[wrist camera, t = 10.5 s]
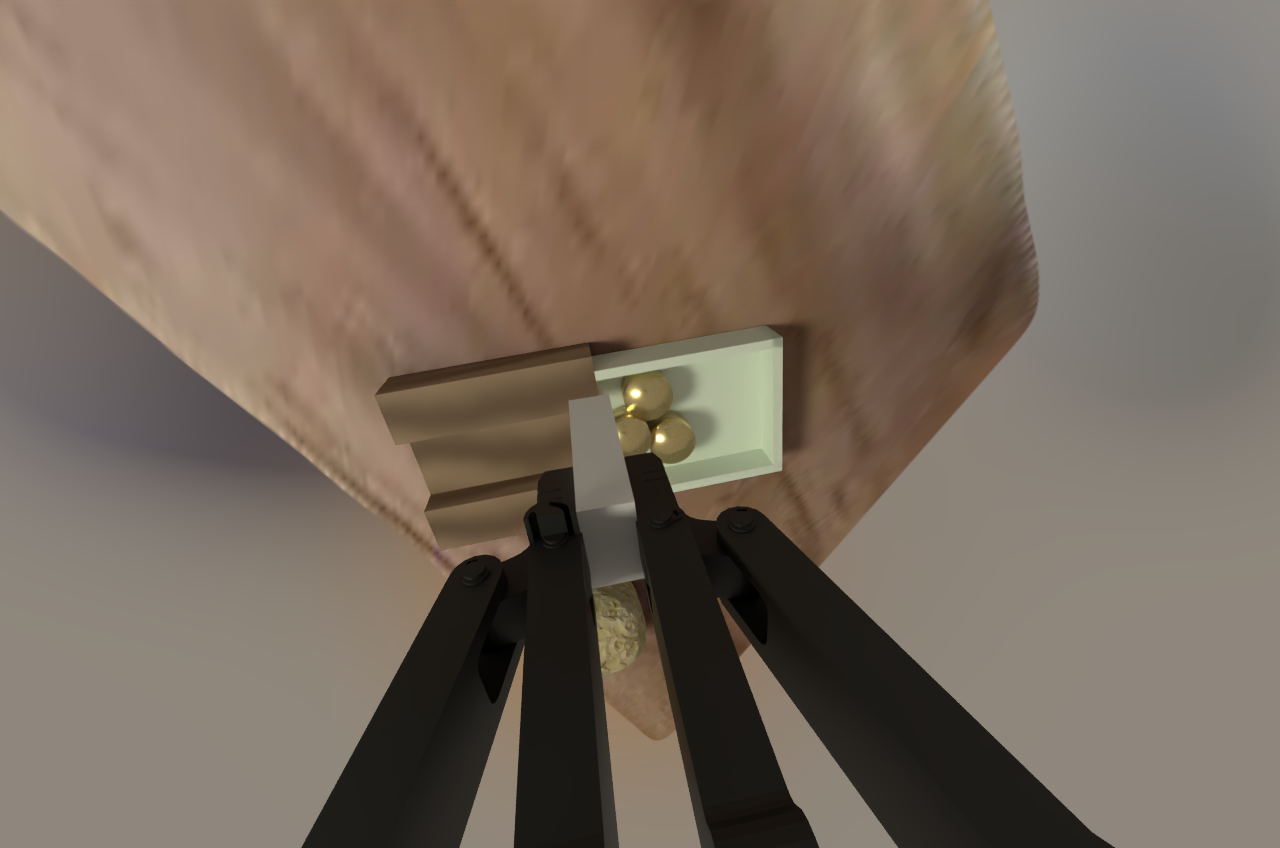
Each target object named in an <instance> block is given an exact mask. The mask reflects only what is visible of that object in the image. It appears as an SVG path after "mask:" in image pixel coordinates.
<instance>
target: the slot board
mask: <svg viewBox="0 0 1280 848" xmlns="http://www.w3.org/2000/svg"><path fill="white" fill-rule="evenodd" d="M374 396H375V398H376V400H377V403H378V405H379V407H380V410H381V412H382V414H383V417H384V419H385V421H386V424H387V426H388V428H389V431H390V433H391V435H392V438H393V440H394V443H395V445H400V444H405V443H410V445H411V447H412V450H413V452H414V455H415V457H416V460H417V462H418V464H419V467H420V469H421V472H422V474H423V477H424V479H425V481H426V484H427V486H428V489H429V491H430V494H431V496H430V498H429V501H428V504H427V506H426V509H425V511H424V513H425V515H426V517H427V520H428V522H429V524H430V527H431V529H432V531H433V534H434V536H435V538H436V541H437V543H438V546H439V548H440V550H446V549H451V548H456V547H461V546H466V545H471V544H476V543H480V542H485V541H490V540H495V539H500V538H505V537H510V536H515V535H520V534H525V533H527V532H526V528H525V525H524V521H523V518H524V516H525V513H526V512H527V511H528V510H529V509H530V508H531V507H532V506H533V505H535V504H537V494H538V493H537V488H538V481H539V479H540V478H541V476H542V475H543V473H544V472H545V471H550V470H556V469H562V468H568V467H573V459H572V444H571V429H570V415H569V400H575V399H581V398H588V397H594V396H599V394H598V389H597V384H596V378H595V373H594V368H593V363H592V357H591V352H590V347H589V343H583V344H578V345H572V346H566V347H561V348H555V349H549V350H544V351H538V352H532V353H527V354H521V355H515V356H510V357H504V358H498V359H493V360H487V361H481V362H476V363H470V364H464V365H459V366H453V367H447V368H442V369H436V370H430V371H425V372H419V373H413V374H408V375H402V376H396V377H390V378H388V379H387V381H386V382H385V383H384V384H383V386H382V387H381V388H380V389H379V390H378V392H377V393H376V394H375V395H374Z"/></svg>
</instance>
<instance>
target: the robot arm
mask: <svg viewBox="0 0 1280 848" xmlns="http://www.w3.org/2000/svg"><path fill="white" fill-rule="evenodd" d="M569 415H570V429H571V444H572V459H573V467H568V468H562V469H556V470H550V471H545V472H544V473H543V475H542V476H541V478H540V479H539V481H538V488H537V493H538V494H537V504H535V505H533V506H532V507H531V508H530V509H529V510H528V511H527V512H526V513H525V516H524V518H523V521H524V525H525V528H526V532H527V535H528V539H529V542H530V546H529V547H528V548H527V549H526V550H524V551H523V552H522V553H520V554H518V555H516V556H515V557H513V558H510V559H508V560H506V561H503V562H501V561H500V560H499V559H498V558H496V557H495V556H491V555H479V556H474V557H472V558H469V559H467V560H465V561H463V562H462V563H461V564H459V565H458V566H457V567H456V568H455V569H454V570H453V571H452V573H451V574H450V576H449V577H448V579H447V581H446V583H445V585H444V587H443V589H442V590H441V592H440V594H439V596H438V598H437V600H436V601H435V603H434V605H433V607H432V609H431V611H430V613H429V614H428V616H427V618H426V620H425V622H424V623H423V625H422V627H421V629H420V631H419V633H418V635H417V636H416V638H415V640H414V642H413V644H412V645H411V647H410V649H409V651H408V653H407V655H406V656H405V658H404V660H403V662H402V664H401V666H400V668H399V669H398V671H397V673H396V675H395V677H394V679H393V680H392V682H391V684H390V686H389V688H388V690H387V692H386V693H385V695H384V697H383V699H382V701H381V702H380V704H379V706H378V708H377V710H376V712H375V713H374V715H373V717H372V719H371V721H370V723H369V724H368V726H367V728H366V730H365V732H364V734H363V735H362V737H361V739H360V741H359V743H358V745H357V747H356V748H355V750H354V752H353V754H352V756H351V757H350V759H349V761H348V763H347V765H346V767H345V769H344V770H343V772H342V774H341V776H340V778H339V780H338V781H337V784H336V785H335V787H334V789H333V791H332V792H331V794H330V796H329V798H328V800H327V802H326V804H325V805H324V807H323V809H322V811H321V813H320V814H319V816H318V818H317V820H316V822H315V824H314V825H313V828H312V829H311V831H310V833H309V835H308V837H307V838H306V840H305V842H304V844H303V846H302V848H459V847H460V843H461V840H462V837H463V834H464V831H465V828H466V825H467V822H468V818H469V815H470V812H471V809H472V806H473V803H474V800H475V797H476V794H477V791H478V787H479V784H480V781H481V778H482V775H483V772H484V769H485V766H486V762H487V759H488V756H489V753H490V750H491V746H492V744H493V740H494V738H495V734H496V731H497V728H498V725H499V722H500V719H501V716H502V712H503V709H504V706H505V703H506V700H507V697H508V694H509V691H510V687H511V684H512V681H513V678H514V675H515V672H516V669H517V665H518V663H519V660H520V656H521V653H522V650H523V647H524V644H525V649H524V664H523V684H522V703H521V722H520V740H519V741H520V742H519V759H518V777H517V797H516V815H515V834H514V848H619V842H618V832H617V822H616V812H615V803H614V792H613V782H612V772H611V762H610V752H609V742H608V732H607V721H606V712H605V701H604V691H603V681H602V671H601V661H600V651H599V641H598V631H597V621H596V611H595V602H594V598H593V593H592V588H597V587H603V586H608V585H613V584H618V583H623V582H628V581H633V580H639V579H644V578H645V583H646V591H647V598H648V605H649V612H651V615H652V620H653V624H654V629H655V634H656V638H657V643H658V648H659V652H660V657H661V662H662V666H663V671H664V676H665V680H666V685H667V690H668V694H669V699H670V704H671V708H672V713H673V718H674V722H675V727H676V732H677V736H678V741H679V746H680V750H681V755H682V759H683V764H684V769H685V773H686V778H687V783H688V787H689V792H690V797H691V802H692V806H693V811H694V816H695V820H696V825H697V829H698V834H699V839H700V844H701V848H819V846H818V843H817V841H816V838H815V836H814V833H813V831H812V829H811V826H810V824H809V822H808V820H807V818H806V816H805V815H804V813H803V811H802V809H800V808H799V807H798V806H797V805H796V804H795V803H794V802H793V800H792V798H791V796H790V794H789V791H788V789H787V786H786V783H785V781H784V778H783V775H782V773H781V770H780V767H779V765H778V762H777V760H776V756H775V754H774V751H773V748H772V746H771V743H770V740H769V738H768V735H767V732H766V730H765V727H764V724H763V722H762V719H761V716H760V713H759V711H758V708H757V705H756V702H755V700H754V697H753V694H752V692H751V689H750V687H749V684H748V681H747V678H746V676H745V673H744V670H743V668H742V665H741V662H740V659H739V657H738V654H737V651H736V649H735V646H734V643H733V640H732V638H731V635H730V632H729V630H728V627H727V624H726V622H725V619H724V616H723V613H722V611H721V608H720V605H719V603H718V600H717V598H720V600H721V603H722V604H723V606H724V607H725V608H726V610H727V611H728V612H729V614H730V615H731V617H732V618H733V619H734V621H735V622H736V624H737V625H738V626H739V628H740V629H741V630H742V632H743V633H744V635H745V636H746V637H747V639H748V640H749V642H750V643H751V644H752V646H753V647H754V648H755V650H756V651H757V653H758V654H759V655H760V657H761V658H762V659H763V661H764V662H765V664H766V665H767V666H768V668H769V669H770V671H771V672H772V673H773V675H774V676H775V678H776V679H777V680H778V682H779V683H780V684H781V686H782V687H783V688H784V690H785V691H786V693H787V694H788V695H789V697H790V698H791V700H792V701H793V702H794V704H795V705H796V707H797V708H798V709H799V711H800V712H801V713H802V715H803V716H804V717H805V719H806V720H807V722H808V723H809V725H810V726H811V727H812V729H813V730H814V731H815V733H816V734H817V736H818V737H819V738H820V740H821V741H822V743H823V744H824V745H825V747H826V748H827V749H828V751H829V752H830V754H831V755H832V756H833V758H834V759H835V761H836V762H837V763H838V765H839V766H840V768H841V769H842V770H843V772H844V773H845V774H846V776H847V777H848V779H849V780H850V781H851V783H852V784H853V786H854V787H855V788H856V790H857V791H858V792H859V794H860V795H861V797H862V798H863V799H864V801H865V802H866V804H867V805H868V806H869V808H870V809H871V810H872V812H873V813H874V815H875V816H876V817H877V819H878V820H879V821H880V823H881V824H882V826H883V827H884V828H885V830H886V831H887V833H888V834H889V835H890V837H891V838H892V839H893V841H894V842H895V844H896V845H897V846H898V848H1115V847H1113V846H1112V845H1110V844H1109V843H1107V842H1106V841H1104V840H1103V839H1101V838H1100V837H1098V836H1096V835H1095V834H1094V833H1092V832H1091V831H1090V830H1089V829H1088V828H1087V827H1086V826H1085V825H1084V824H1083V823H1082V822H1081V821H1080V820H1079V819H1078V818H1077V817H1076V816H1075V815H1074V814H1073V813H1072V812H1071V811H1069V810H1068V809H1067V808H1066V807H1065V806H1064V805H1063V804H1062V803H1061V802H1060V801H1059V800H1058V799H1057V798H1056V797H1055V796H1054V795H1053V794H1052V793H1051V792H1050V791H1049V790H1048V789H1046V787H1045V786H1044V785H1043V784H1042V783H1040V782H1039V780H1038V779H1036V778H1035V777H1034V776H1033V775H1032V774H1031V773H1030V772H1029V771H1028V770H1027V769H1026V768H1025V767H1024V766H1023V765H1022V764H1021V763H1020V762H1019V761H1018V760H1017V759H1016V758H1015V757H1014V756H1013V755H1012V754H1011V753H1010V752H1009V751H1007V749H1005V748H1004V747H1003V746H1002V745H1001V744H1000V743H999V742H998V741H997V740H996V739H995V738H994V737H993V736H992V735H991V734H990V733H989V732H988V731H987V730H986V729H985V728H984V727H983V726H981V724H980V723H979V722H978V721H977V720H976V719H974V718H973V717H972V716H971V715H970V714H969V713H968V712H967V711H966V710H965V709H964V708H963V707H962V706H961V705H960V704H959V703H958V702H957V701H956V700H955V699H954V698H953V697H952V696H951V695H950V694H949V693H948V692H947V691H945V690H944V689H943V688H942V687H941V686H940V685H939V684H938V683H937V682H936V681H935V680H934V679H933V678H932V677H931V676H930V675H929V674H928V673H927V672H926V671H925V670H924V669H923V668H922V667H921V666H920V665H919V664H918V663H916V661H915V660H913V659H912V658H911V657H910V656H909V655H908V654H907V653H906V652H905V651H904V650H903V649H902V648H901V647H900V646H899V645H898V644H897V643H896V642H895V641H894V640H893V639H892V638H891V637H890V636H889V635H888V634H887V633H885V631H884V630H882V629H881V628H880V627H879V626H878V625H877V624H876V623H875V622H874V621H873V620H872V619H871V618H870V617H869V616H868V615H867V614H866V613H865V612H864V611H863V610H862V609H861V608H860V607H859V606H858V605H857V604H856V603H854V601H853V600H852V599H850V598H849V597H848V596H847V595H846V594H845V593H844V592H843V591H842V590H841V589H840V588H839V587H838V586H837V585H836V584H835V583H834V582H833V581H832V580H831V579H830V578H829V577H828V576H827V575H826V574H825V573H824V572H823V571H822V570H820V569H819V568H818V567H817V566H816V565H815V564H814V563H813V562H812V561H811V560H810V559H809V558H808V557H807V556H806V555H805V554H804V553H803V552H802V551H801V550H800V549H799V548H798V547H797V546H796V545H795V544H794V543H793V542H792V541H791V540H790V539H789V538H787V537H786V536H785V535H784V534H783V533H782V532H781V531H780V530H779V529H778V528H777V527H776V526H775V525H774V524H773V523H772V522H771V521H770V520H769V519H768V518H767V517H766V516H765V515H764V514H762V513H761V512H759V511H758V510H756V509H753V508H749V507H738V506H737V507H733V508H728V509H727V510H725V511H723V512H721V513H720V515H719V516H718V517H717V521H709V520H699V519H695V518H692V517H689V516H688V515H686V514H685V513H684V511H683V510H682V509H681V508H679V506H678V504H677V501H676V498H675V495H674V493H673V490H672V487H671V484H670V482H669V479H668V476H667V473H666V471H665V468H664V465H663V462H662V460H661V459H660V458H659V457H658V456H657V455H655V454H654V453H653V452H649V453H643V454H637V455H631V456H626V457H624V456H623V451H622V447H621V443H620V439H619V435H618V431H617V426H616V422H615V418H614V414H613V410H612V406H611V401H610V397H609V394H607V395H600V396H594V397H588V398H581V399H575V400H569Z"/></svg>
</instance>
